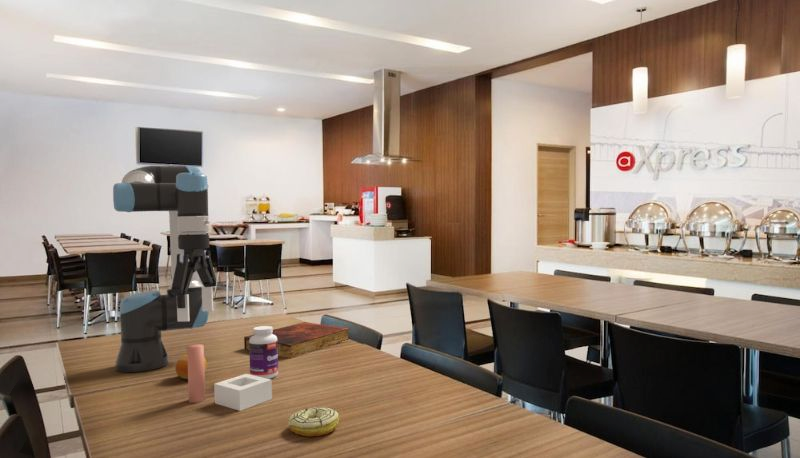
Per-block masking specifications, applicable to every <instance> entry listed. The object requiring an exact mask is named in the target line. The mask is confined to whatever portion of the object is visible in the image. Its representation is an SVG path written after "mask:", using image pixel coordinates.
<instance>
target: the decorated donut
mask: <svg viewBox="0 0 800 458" xmlns="http://www.w3.org/2000/svg"><path fill="white" fill-rule="evenodd" d="M339 423H340V418H339V413H338V412H337V410H334V409H332V408H330V407H319V406H317V407H309V408H304V409H302V410H298V411H296V412H294V413H293V414H292V415H290V417H289V418H288V426H289V429H290V432H292V433H294V434H295V435H300V436H301V435H302V437H320V436H325V435H328V434H330V433H332V432H333V431H334V430H335V429H336V427H337V426H338V424H339Z"/></svg>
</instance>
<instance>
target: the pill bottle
mask: <svg viewBox="0 0 800 458" xmlns="http://www.w3.org/2000/svg"><path fill="white" fill-rule="evenodd" d="M252 329H253V331H252V332H253V335H254V336H252V337H251V338H250V340H249V350H248V351H249V352H248V353H249V374H250V375H254V376H258V377H262V378H267V379H273V378H275V377H277V376H278V374H279V356H278V344H277V337H276V336H275V335H274V334H272V332H273V330H274V328H273V326H271V325H270V326H269V325H261V326H255V327H252Z"/></svg>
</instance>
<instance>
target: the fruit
mask: <svg viewBox="0 0 800 458" xmlns="http://www.w3.org/2000/svg"><path fill="white" fill-rule="evenodd" d="M207 369H208V362H207V359H206V358H205V357H204V372H205V373H206V371H207ZM175 372H176V374H177V376H178V377H180V378H181V379H184V380H188V361H187V354H185V355H184V354H183V355H182V356H180V357H179V358H178V360H177V361H176V363H175Z"/></svg>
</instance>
